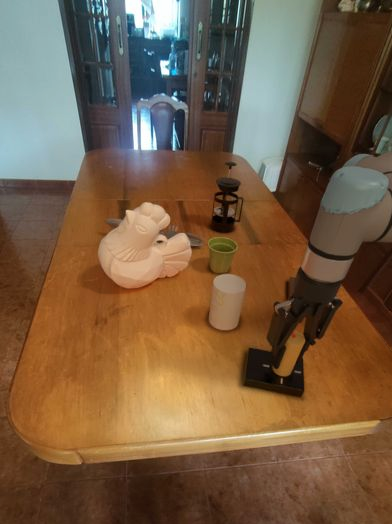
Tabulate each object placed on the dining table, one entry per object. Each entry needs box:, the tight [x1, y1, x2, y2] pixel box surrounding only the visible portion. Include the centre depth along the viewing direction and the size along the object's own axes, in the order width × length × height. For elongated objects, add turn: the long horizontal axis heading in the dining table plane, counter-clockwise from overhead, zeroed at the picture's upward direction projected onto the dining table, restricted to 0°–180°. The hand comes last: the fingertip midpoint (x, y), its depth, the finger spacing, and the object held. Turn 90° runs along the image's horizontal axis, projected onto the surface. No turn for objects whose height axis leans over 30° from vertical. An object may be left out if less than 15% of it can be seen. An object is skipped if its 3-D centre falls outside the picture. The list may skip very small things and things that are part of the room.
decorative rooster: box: [97, 201, 193, 289], centre depth 88 cm, size 25×16×25 cm
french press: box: [209, 161, 245, 234], centre depth 116 cm, size 12×9×23 cm
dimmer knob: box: [272, 330, 305, 376], centre depth 68 cm, size 4×4×10 cm
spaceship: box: [104, 217, 205, 247], centre depth 110 cm, size 8×35×8 cm
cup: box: [208, 273, 247, 331], centre depth 82 cm, size 8×8×12 cm
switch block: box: [287, 276, 296, 299], centre depth 96 cm, size 11×10×4 cm
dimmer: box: [242, 347, 305, 398], centre depth 73 cm, size 13×10×3 cm
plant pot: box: [207, 236, 239, 275], centre depth 101 cm, size 9×9×9 cm
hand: (284, 362), depth 70 cm, fingers closed on dimmer knob, 4 cm apart
